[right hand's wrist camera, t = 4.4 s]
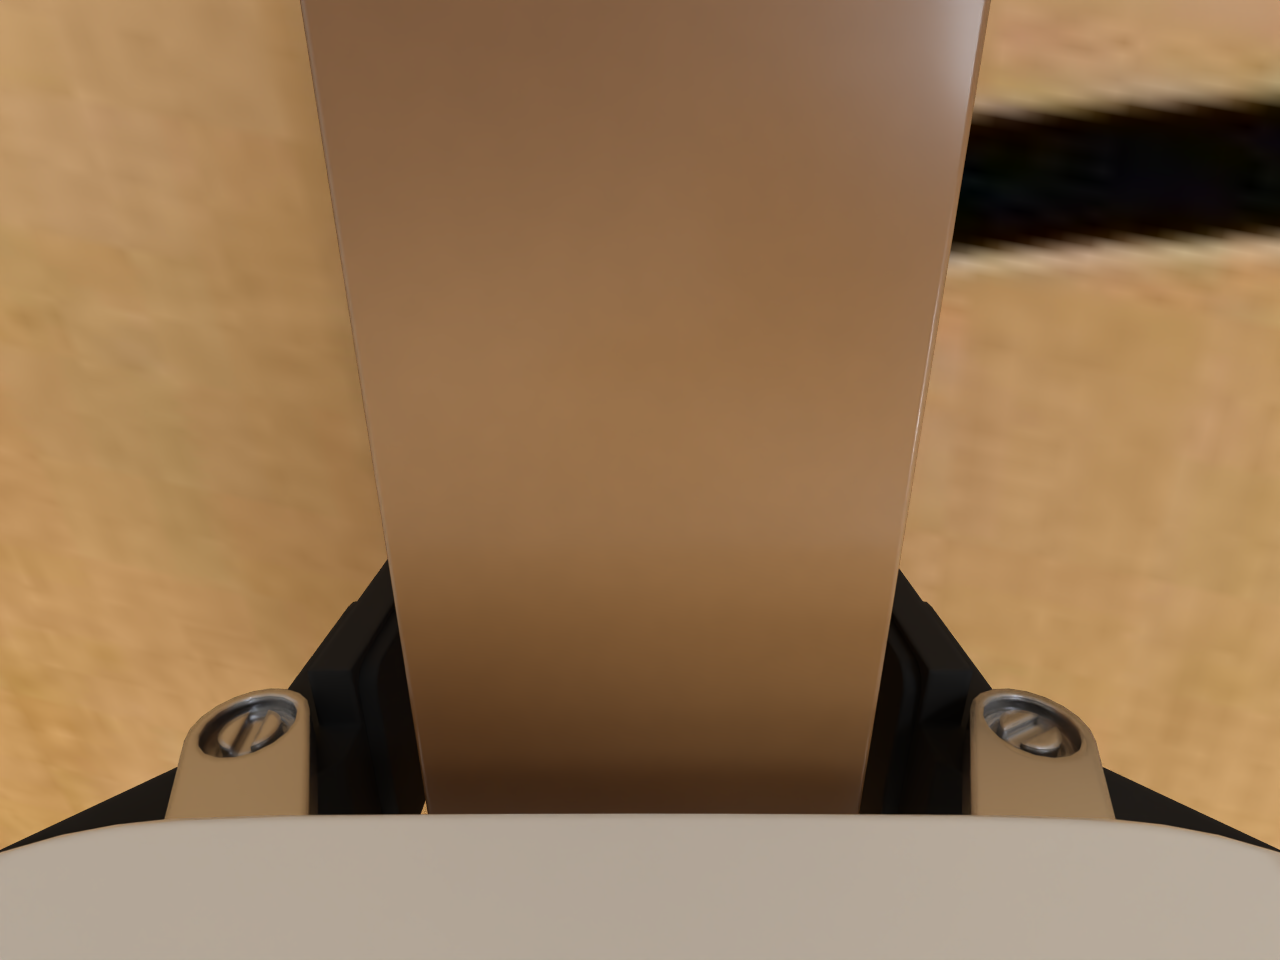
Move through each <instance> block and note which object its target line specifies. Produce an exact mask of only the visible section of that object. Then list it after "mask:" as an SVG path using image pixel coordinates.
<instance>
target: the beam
mask: <svg viewBox="0 0 1280 960" xmlns="http://www.w3.org/2000/svg"><path fill="white" fill-rule="evenodd" d="M300 2H301V9H302V15H303V22H304V28H305V34H306V41H307V47H308V53H309V60H310V66H311V73H312V79H313V85H314V92H315V98H316V104H317V111H318V117H319V123H320V130H321V136H322V143H323V149H324V155H325V162H326V168H327V174H328V181H329V187H330V194H331V200H332V206H333V213H334V219H335V225H336V232H337V238H338V245H339V251H340V257H341V264H342V270H343V276H344V283H345V289H346V295H347V302H348V308H349V315H350V321H351V327H352V334H353V340H354V346H355V353H356V359H357V366H358V372H359V378H360V385H361V391H362V397H363V404H364V410H365V417H366V423H367V429H368V436H369V442H370V448H371V455H372V461H373V467H374V474H375V480H376V487H377V493H378V499H379V506H380V512H381V518H382V525H383V531H384V538H385V544H386V550H387V557H388V563H389V569H390V576H391V582H392V588H393V595H394V601H395V608H396V614H397V620H398V627H399V633H400V639H401V646H402V652H403V659H404V665H405V671H406V678H407V684H408V690H409V697H410V703H411V710H412V716H413V722H414V729H415V735H416V741H417V748H418V754H419V760H420V767H421V773H422V780H423V786H424V792H425V799H426V805H427V811H428V814H859V811H860V804H861V798H862V792H863V786H864V780H865V774H866V767H867V761H868V755H869V749H870V743H871V737H872V730H873V724H874V718H875V712H876V706H877V700H878V693H879V687H880V681H881V675H882V669H883V662H884V656H885V650H886V644H887V638H888V632H889V625H890V619H891V613H892V607H893V601H894V595H895V588H896V582H897V576H898V570H899V564H900V558H901V551H902V545H903V539H904V533H905V527H906V521H907V514H908V508H909V502H910V496H911V490H912V484H913V477H914V471H915V465H916V459H917V453H918V446H919V440H920V434H921V428H922V422H923V416H924V409H925V403H926V397H927V391H928V385H929V379H930V372H931V366H932V360H933V354H934V348H935V342H936V335H937V329H938V323H939V317H940V311H941V305H942V298H943V292H944V286H945V280H946V274H947V268H948V261H949V255H950V249H951V243H952V237H953V230H954V224H955V218H956V212H957V206H958V200H959V193H960V187H961V181H962V175H963V169H964V163H965V156H966V150H967V144H968V138H969V132H970V126H971V119H972V113H973V107H974V101H975V95H976V89H977V82H978V76H979V70H980V64H981V58H982V52H983V45H984V39H985V33H986V27H987V21H988V14H989V8H990V2H991V0H300Z"/></svg>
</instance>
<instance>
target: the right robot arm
mask: <svg viewBox="0 0 1280 960" xmlns="http://www.w3.org/2000/svg"><path fill="white" fill-rule="evenodd" d="M425 800H426V799H425V792H424V786H423V780H422V773H421V767H420V760H419V754H418V748H417V741H416V735H415V729H414V722H413V716H412V710H411V703H410V697H409V690H408V684H407V678H406V671H405V665H404V659H403V652H402V646H401V639H400V633H399V627H398V620H397V614H396V608H395V601H394V595H393V588H392V582H391V576H390V569H389V563H388V559H387V561H386V562H385V564H384V565H383V566H382V568H381V569H380V571H379V572H378V573H377V575H376V576H375V577H374V579H373V580H372V582H371V583H370V584H369V586H368V587H367V589H366V590H365V591H364V593H363V594H362V595H361V597H360V598H359V600H358V601H356V602H353V603H352V604H351V605H350V606H349V607H348V608H347V609H346V611H345V612H344V613H343V615H342V616H341V617H340V619H339V620H338V622H337V623H336V624H335V626H334V627H333V628H332V630H331V631H330V632H329V634H328V635H327V636H326V638H325V639H324V641H323V642H322V643H321V645H320V646H319V647H318V649H317V650H316V651H315V653H314V654H313V656H312V657H311V658H310V660H309V661H308V662H307V664H306V665H305V666H304V668H303V669H302V670H301V672H300V673H299V675H298V676H297V677H296V679H295V680H294V681H293V683H292V684H291V685H290V687H289V688H288V689H266V690H259V691H253V692H250V693H247V694H244V695H241V696H237V697H234V698H232V699H230V700H228V701H226V702H224V703H222V704H220V705H218V706H216V707H215V708H214V709H212V710H211V711H209V712H208V713H206V714H205V715H204V716H202V717H201V718H200V719H199V720H198V721H197V722H196V723H195V724H194V726H193V727H192V728H191V729H190V730H189V732H188V734H187V736H186V738H185V740H184V743H183V747H182V751H181V755H180V759H179V763H178V767H176V768H174V769H172V770H170V771H168V772H166V773H163V774H161V775H159V776H157V777H155V778H153V779H151V780H149V781H146V782H144V783H142V784H140V785H138V786H136V787H134V788H131V789H129V790H127V791H125V792H123V793H121V794H119V795H117V796H114V797H112V798H110V799H108V800H106V801H104V802H102V803H99V804H97V805H95V806H93V807H91V808H89V809H87V810H84V811H82V812H80V813H78V814H76V815H74V816H72V817H70V818H67V819H65V820H63V821H61V822H59V823H57V824H55V825H52V826H50V827H48V828H46V829H44V830H42V831H40V832H38V833H35V834H33V835H31V836H29V837H27V838H25V839H23V840H20V841H18V842H16V843H14V844H12V845H10V846H8V847H5V848H3V849H1V850H0V960H1280V850H1279V849H1277V848H1275V847H1272V846H1270V845H1268V844H1266V843H1264V842H1262V841H1260V840H1257V839H1255V838H1253V837H1251V836H1249V835H1247V834H1245V833H1242V832H1240V831H1238V830H1236V829H1234V828H1232V827H1230V826H1228V825H1225V824H1223V823H1221V822H1219V821H1217V820H1215V819H1213V818H1210V817H1208V816H1206V815H1204V814H1202V813H1200V812H1198V811H1196V810H1193V809H1191V808H1189V807H1187V806H1185V805H1183V804H1181V803H1178V802H1176V801H1174V800H1172V799H1170V798H1168V797H1166V796H1163V795H1161V794H1159V793H1157V792H1155V791H1153V790H1151V789H1149V788H1146V787H1144V786H1142V785H1140V784H1138V783H1136V782H1134V781H1131V780H1129V779H1127V778H1125V777H1123V776H1121V775H1119V774H1117V773H1114V772H1112V771H1110V770H1108V769H1106V768H1104V767H1102V763H1101V759H1100V755H1099V751H1098V747H1097V743H1096V740H1095V738H1094V736H1093V734H1092V732H1091V730H1090V729H1089V728H1088V727H1087V726H1086V724H1085V723H1084V722H1083V721H1082V720H1081V719H1080V718H1079V717H1078V716H1076V715H1075V714H1074V713H1072V712H1071V711H1069V710H1068V709H1066V708H1065V707H1064V706H1062V705H1060V704H1058V703H1056V702H1054V701H1052V700H1050V699H1048V698H1046V697H1043V696H1039V695H1036V694H1033V693H1030V692H1027V691H1021V690H1014V689H992V688H991V687H990V685H989V684H988V683H987V681H986V680H985V679H984V677H983V676H982V675H981V673H980V672H979V670H978V669H977V668H976V666H975V665H974V664H973V662H972V661H971V660H970V658H969V657H968V656H967V654H966V653H965V651H964V650H963V649H962V647H961V646H960V645H959V643H958V642H957V641H956V639H955V638H954V636H953V635H952V634H951V632H950V631H949V630H948V628H947V627H946V626H945V624H944V623H943V622H942V620H941V619H940V617H939V616H938V615H937V613H936V612H935V611H934V609H933V608H932V607H931V606H930V605H929V604H928V603H927V602H924V601H922V600H921V598H920V597H919V595H918V594H917V593H916V591H915V590H914V589H913V587H912V586H911V584H910V583H909V582H908V580H907V579H906V577H905V576H904V575H903V573H902V572H901V571H900V569H899V570H898V576H897V582H896V588H895V595H894V601H893V607H892V613H891V619H890V625H889V632H888V638H887V644H886V650H885V656H884V662H883V669H882V675H881V681H880V687H879V693H878V700H877V706H876V712H875V718H874V724H873V730H872V737H871V743H870V749H869V755H868V761H867V767H866V774H865V780H864V786H863V792H862V798H861V804H860V811H859V814H421V811H422V809H423V806H424V803H425Z"/></svg>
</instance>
